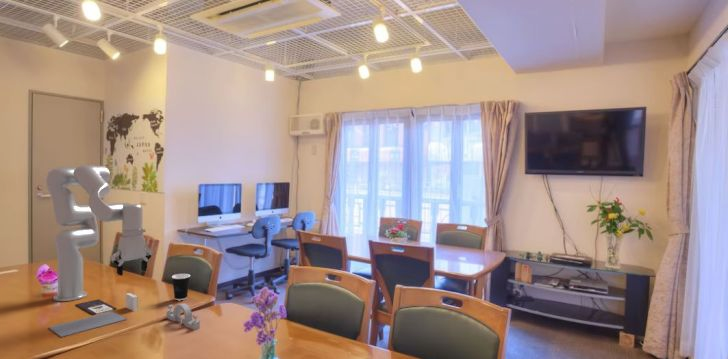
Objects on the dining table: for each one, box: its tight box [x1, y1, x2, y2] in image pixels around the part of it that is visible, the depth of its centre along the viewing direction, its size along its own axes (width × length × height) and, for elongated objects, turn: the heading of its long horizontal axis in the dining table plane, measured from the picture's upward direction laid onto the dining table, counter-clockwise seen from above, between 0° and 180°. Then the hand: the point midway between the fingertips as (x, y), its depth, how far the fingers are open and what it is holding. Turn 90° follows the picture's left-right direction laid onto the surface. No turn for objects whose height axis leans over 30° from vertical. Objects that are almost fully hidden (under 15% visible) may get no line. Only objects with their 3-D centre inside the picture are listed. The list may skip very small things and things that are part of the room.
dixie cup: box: [171, 273, 191, 301], centre depth 189 cm, size 8×8×11 cm
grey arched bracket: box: [165, 302, 201, 331], centre depth 162 cm, size 20×2×8 cm, turn 55°
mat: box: [48, 310, 128, 338], centre depth 158 cm, size 13×22×1 cm, turn 144°
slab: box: [125, 292, 139, 312], centre depth 176 cm, size 7×2×6 cm, turn 54°
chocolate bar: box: [75, 298, 117, 316], centre depth 176 cm, size 9×1×18 cm
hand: (132, 272), depth 175 cm, fingers open, 9 cm apart
